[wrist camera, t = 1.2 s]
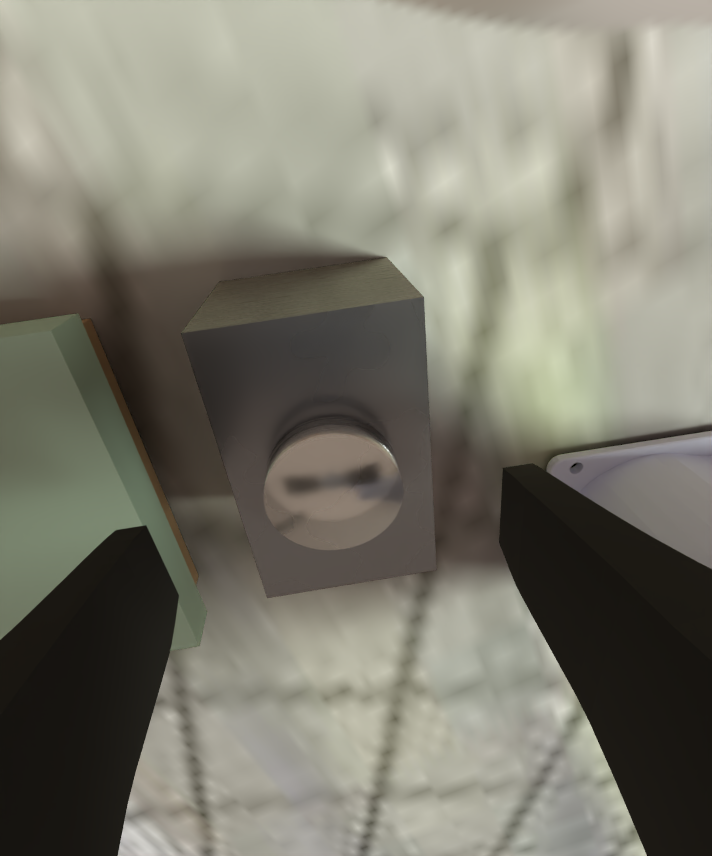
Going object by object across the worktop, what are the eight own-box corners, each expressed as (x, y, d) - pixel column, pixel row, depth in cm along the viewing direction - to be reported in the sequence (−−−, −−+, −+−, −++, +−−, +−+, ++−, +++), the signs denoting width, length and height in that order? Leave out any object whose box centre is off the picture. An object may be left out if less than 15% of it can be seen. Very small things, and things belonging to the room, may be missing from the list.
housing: (385, 256, 14) (435, 309, 8) (404, 471, 18) (445, 597, 13) (220, 280, 14) (168, 350, 8) (276, 492, 18) (264, 627, 12)
